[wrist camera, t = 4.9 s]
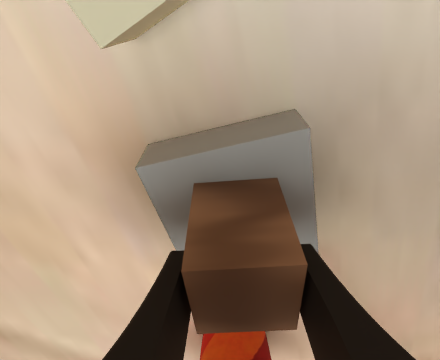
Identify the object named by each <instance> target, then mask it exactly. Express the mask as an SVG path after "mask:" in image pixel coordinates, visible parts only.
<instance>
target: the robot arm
mask: <svg viewBox="0 0 440 360" xmlns="http://www.w3.org/2000/svg"><path fill="white" fill-rule="evenodd" d="M301 247H302V250H303V253H304V256H305V259H306V262H307V264H308V266H307V271H306V277H305V283H304V289H303V295H302V301H301V307H300V313H301V316H302V320H303V323H304V326H305V329H306V332H307V335H308V338H309V341H310V345H311V348H312V351H313V354H314V357H315V360H416V359H415V358H413V357H412V356H411V355H410V354H409V353H408V352H407V351H406V350H405V349H404V348H403V347H402V346H400V345H399V344H398V343H397V342H396V341H395V340H394V339H393V338H392V337H391V336H390V335H389V334H388V333H387V332H386V331H385V330H384V329H383V328H382V327H381V326H380V325H379V324H378V323H377V322H376V321H375V320H374V319H373V318H372V317H371V316H370V315H369V314H368V313H367V312H366V311H365V309H364V308H363V307H362V306H361V305H360V304H359V303H358V302H357V301H356V300H355V298H354V297H353V296H352V295H351V294H350V293H349V292H348V290H347V289H346V288H345V287H344V286H343V284H342V283H341V282H340V281H339V280H338V279H337V277H336V276H335V275H334V274H333V272H332V271H331V270H330V269H329V267H328V266H327V265H326V263H325V262H324V261H323V259H322V258H321V257H320V255H319V254H318V253H317V251H316V250H315V248H314V247H313V246H312V245H311V244H301ZM183 256H184V250H182V251H171V252H170V254H169V256H168V258H167V260H166V262H165V264H164V266H163V268H162V270H161V272H160V274H159V275H158V277H157V279H156V281H155V283H154V284H153V286H152V288H151V289H150V291H149V293H148V295H147V296H146V298H145V300H144V301H143V303H142V304H141V306H140V307H139V309H138V311H137V312H136V314H135V315H134V317H133V318H132V320H131V321H130V323H129V324H128V326H127V327H126V329H125V330H124V331H123V333H122V334H121V336H120V337H119V338H118V340H117V341H116V342H115V344H114V345H113V346H112V348H111V349H110V350H109V352H108V353H107V354H106V355H105V357H104V358H103V359H102V360H183V358H184V352H185V346H186V339H187V333H188V327H189V320H190V314H191V308H190V304H189V300H188V296H187V292H186V288H185V284H184V280H183V277H182V273H181V270H182V263H183Z"/></svg>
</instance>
